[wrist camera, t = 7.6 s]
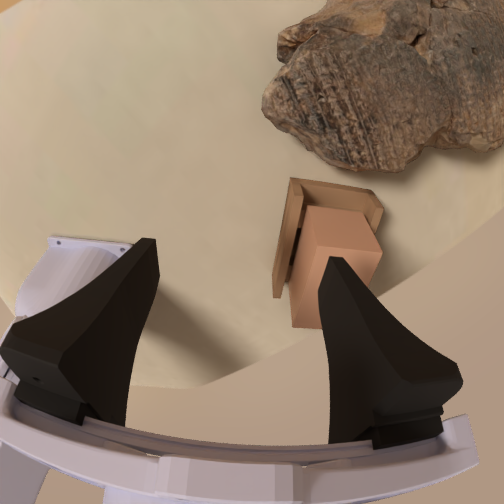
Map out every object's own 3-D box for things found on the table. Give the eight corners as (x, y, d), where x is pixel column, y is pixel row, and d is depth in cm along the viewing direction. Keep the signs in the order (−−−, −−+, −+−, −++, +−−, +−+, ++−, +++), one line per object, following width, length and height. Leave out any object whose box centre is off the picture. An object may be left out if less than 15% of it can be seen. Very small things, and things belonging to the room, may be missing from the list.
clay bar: (335, 286, 24) (346, 329, 20) (288, 282, 24) (292, 327, 20) (362, 212, 20) (383, 253, 16) (307, 205, 19) (317, 245, 16)
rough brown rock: (304, 194, 22) (512, 127, 16) (312, 230, 18) (549, 148, 12) (217, 18, 14) (468, -32, 8) (201, 6, 10) (506, -39, 4)
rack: (340, 280, 26) (346, 302, 24) (272, 274, 26) (273, 297, 24) (371, 190, 21) (384, 208, 18) (290, 177, 20) (294, 195, 18)
